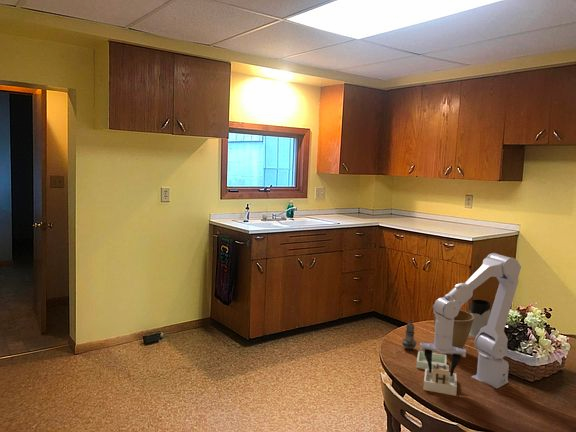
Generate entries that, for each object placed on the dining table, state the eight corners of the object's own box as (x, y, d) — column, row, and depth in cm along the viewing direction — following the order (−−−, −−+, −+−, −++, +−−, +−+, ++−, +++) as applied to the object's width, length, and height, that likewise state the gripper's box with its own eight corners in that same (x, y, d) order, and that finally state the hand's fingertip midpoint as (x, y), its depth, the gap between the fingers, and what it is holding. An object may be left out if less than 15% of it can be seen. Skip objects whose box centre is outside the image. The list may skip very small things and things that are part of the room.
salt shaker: (416, 353, 182) (418, 324, 181) (401, 352, 183) (403, 322, 182) (415, 348, 188) (417, 319, 186) (400, 346, 189) (402, 318, 188)
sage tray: (445, 362, 175) (446, 355, 174) (445, 374, 165) (446, 366, 165) (417, 358, 178) (418, 350, 178) (416, 369, 168) (416, 361, 168)
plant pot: (423, 351, 185) (426, 312, 183) (443, 342, 195) (446, 305, 193) (458, 364, 174) (461, 322, 172) (477, 354, 184) (480, 315, 182)
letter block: (432, 379, 159) (433, 362, 159) (447, 382, 158) (449, 364, 157) (431, 386, 154) (433, 368, 154) (447, 388, 153) (449, 371, 152)
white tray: (455, 382, 159) (456, 373, 159) (456, 395, 150) (456, 386, 149) (424, 376, 163) (425, 368, 162) (423, 389, 153) (423, 381, 153)
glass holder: (483, 340, 199) (486, 306, 197) (452, 330, 209) (455, 298, 207) (492, 335, 205) (495, 302, 203) (462, 326, 215) (464, 295, 213)
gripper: (420, 335, 153) (417, 374, 154) (467, 341, 148) (464, 382, 150) (421, 328, 159) (418, 365, 161) (466, 334, 155) (463, 373, 156)
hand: (440, 373), depth 156 cm, fingers open, 6 cm apart
